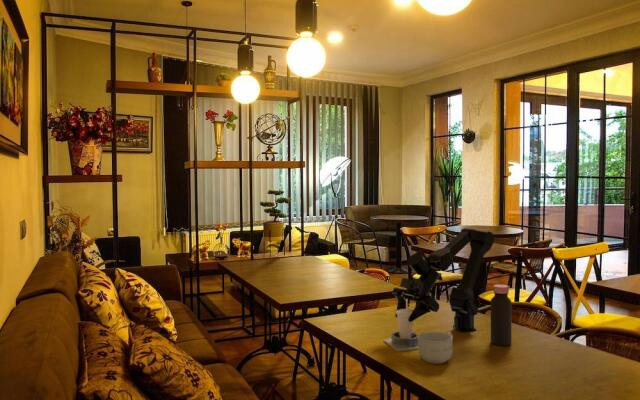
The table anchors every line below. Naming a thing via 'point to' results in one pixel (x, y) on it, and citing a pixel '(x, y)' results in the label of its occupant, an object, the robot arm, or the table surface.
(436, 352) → the teacup
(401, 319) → the smoothie
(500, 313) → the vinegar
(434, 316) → the table surface
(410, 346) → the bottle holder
